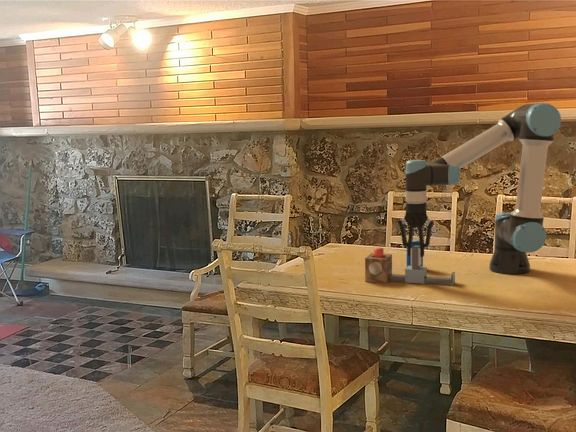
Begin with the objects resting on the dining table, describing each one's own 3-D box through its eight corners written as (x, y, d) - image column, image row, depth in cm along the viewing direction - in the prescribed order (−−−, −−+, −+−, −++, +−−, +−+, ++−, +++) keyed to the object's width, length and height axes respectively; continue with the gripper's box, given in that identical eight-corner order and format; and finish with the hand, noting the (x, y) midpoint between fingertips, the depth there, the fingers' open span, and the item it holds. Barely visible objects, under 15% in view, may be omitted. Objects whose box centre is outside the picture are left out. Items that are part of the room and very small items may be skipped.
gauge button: (384, 262, 236) (384, 247, 235) (382, 264, 232) (382, 249, 231) (375, 261, 237) (375, 247, 236) (373, 263, 234) (372, 249, 233)
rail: (454, 282, 227) (455, 272, 227) (453, 285, 223) (453, 275, 222) (390, 278, 236) (390, 268, 236) (387, 281, 232) (387, 271, 231)
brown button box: (392, 276, 239) (391, 254, 237) (386, 283, 229) (385, 259, 228) (371, 275, 242) (371, 253, 240) (365, 281, 232) (364, 258, 231)
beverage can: (422, 271, 246) (423, 241, 245) (406, 270, 248) (406, 241, 246) (422, 267, 253) (422, 238, 251) (406, 267, 254) (406, 238, 252)
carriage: (426, 279, 232) (426, 245, 230) (424, 283, 226) (424, 248, 224) (408, 278, 234) (408, 244, 232) (405, 282, 229) (405, 247, 227)
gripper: (438, 201, 226) (438, 263, 230) (397, 200, 232) (397, 261, 235) (435, 203, 220) (435, 268, 223) (393, 203, 225) (393, 265, 229)
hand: (416, 264), depth 229 cm, fingers closed on carriage, 2 cm apart
